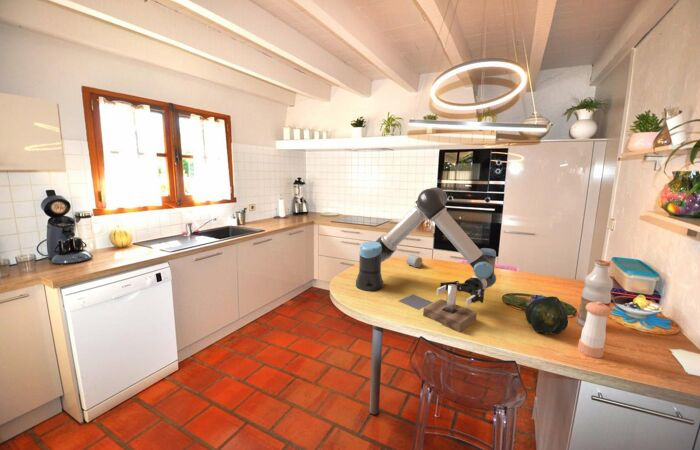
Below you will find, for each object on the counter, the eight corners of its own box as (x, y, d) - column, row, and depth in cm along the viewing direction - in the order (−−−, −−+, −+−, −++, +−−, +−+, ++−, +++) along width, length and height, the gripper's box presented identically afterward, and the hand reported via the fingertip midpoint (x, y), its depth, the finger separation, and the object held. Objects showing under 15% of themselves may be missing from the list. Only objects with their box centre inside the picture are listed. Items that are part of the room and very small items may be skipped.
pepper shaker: (599, 360, 104) (609, 308, 100) (574, 350, 110) (583, 300, 106) (606, 353, 108) (616, 303, 105) (581, 343, 114) (590, 295, 110)
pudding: (554, 305, 146) (555, 295, 145) (554, 315, 136) (556, 304, 135) (525, 299, 152) (526, 289, 151) (524, 308, 142) (525, 298, 141)
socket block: (423, 316, 133) (423, 307, 132) (440, 307, 142) (441, 299, 141) (459, 332, 120) (460, 323, 120) (475, 320, 130) (476, 312, 129)
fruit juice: (575, 317, 134) (585, 256, 129) (602, 323, 130) (614, 260, 124) (578, 327, 126) (590, 262, 121) (607, 333, 121) (621, 266, 116)
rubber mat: (397, 301, 147) (397, 301, 146) (412, 295, 155) (412, 294, 154) (418, 310, 138) (418, 309, 138) (433, 303, 146) (433, 302, 146)
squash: (514, 315, 124) (547, 296, 115) (523, 304, 135) (553, 286, 127) (541, 346, 118) (577, 329, 110) (547, 333, 129) (581, 316, 121)
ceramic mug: (415, 268, 195) (416, 257, 193) (405, 265, 201) (406, 254, 200) (426, 266, 201) (427, 255, 199) (416, 263, 207) (417, 252, 206)
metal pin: (443, 318, 131) (446, 285, 128) (447, 315, 134) (451, 283, 131) (451, 321, 129) (454, 288, 126) (455, 318, 131) (458, 286, 128)
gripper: (501, 301, 134) (479, 316, 120) (450, 284, 153) (425, 295, 139) (503, 285, 133) (481, 298, 119) (451, 270, 151) (427, 280, 137)
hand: (451, 297), depth 129 cm, fingers open, 13 cm apart
